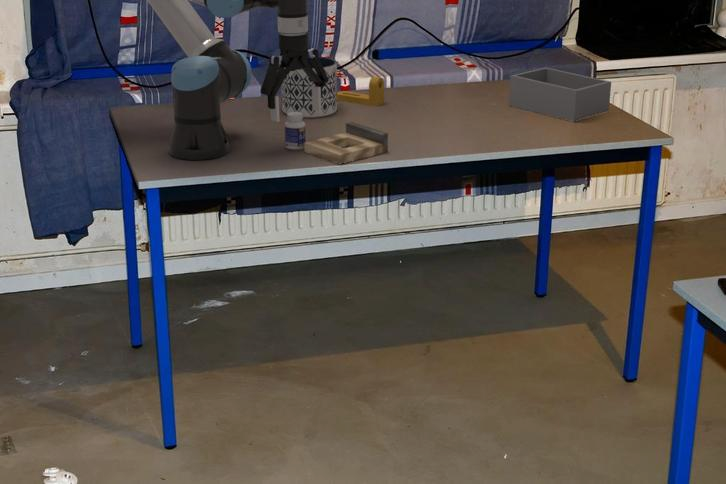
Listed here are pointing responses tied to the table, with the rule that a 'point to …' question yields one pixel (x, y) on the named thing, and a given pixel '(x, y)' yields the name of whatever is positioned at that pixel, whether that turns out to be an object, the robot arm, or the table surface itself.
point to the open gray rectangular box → (559, 93)
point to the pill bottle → (295, 131)
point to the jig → (350, 144)
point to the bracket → (372, 99)
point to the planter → (310, 91)
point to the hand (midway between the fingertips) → (296, 115)
